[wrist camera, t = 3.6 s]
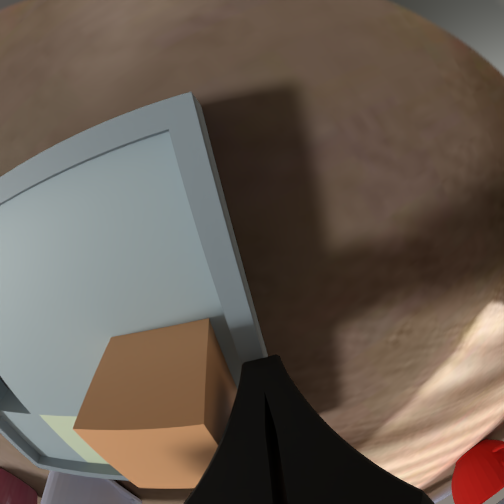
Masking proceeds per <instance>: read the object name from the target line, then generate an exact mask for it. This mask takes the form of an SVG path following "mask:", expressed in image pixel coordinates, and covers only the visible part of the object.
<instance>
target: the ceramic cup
mask: <svg viewBox="0 0 504 504" xmlns="http://www.w3.org/2000/svg"><path fill="white" fill-rule="evenodd" d="M503 487H504V442H503V441H499V440H488V439H485V440H483V441H481V442H480V443H478V444H477V445H476V446H474V447H473V448H472V449H470V450H469V451H468V452H467V453H465V454H464V455H463V456H462V457H461V458H460V459H459V460H458V461H457V462H456V467H455V469H454V473H453V477H452V495H453V499H454V503H455V504H482V503H483V502H485V501H486V500H488V499H489V498H490V497H492V496H493V495H494V494H496V493H497V492H498V491H500V490H501V489H502V488H503Z"/></svg>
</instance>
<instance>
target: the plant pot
mask: <svg viewBox="0 0 504 504" xmlns="http://www.w3.org/2000/svg"><path fill="white" fill-rule="evenodd" d="M0 504H37V493H36V491H35V490H34V489H32V488H31V487H30V486H29V485H27V484H26V483H24V482H23V481H21V480H20V479H18V478H17V477H15V476H14V475H12V474H10V473H9V472H7V471H5V470H4V469H2V468H0Z"/></svg>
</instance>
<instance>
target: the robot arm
mask: <svg viewBox="0 0 504 504" xmlns="http://www.w3.org/2000/svg"><path fill="white" fill-rule="evenodd" d="M40 504H142V500H140V499H139V498H137V497H136V496H134V495H133V494H131V493H130V492H129V491H127V490H126V489H125V488H123V487H122V486H120V485H119V484H118V483H116V482H115V481H114V480H112V479H102V478H94V477H86V476H79V475H73V474H67V473H62V472H56V471H51V470H50V472H49V476H48V479H47V482H46V485H45V489H44V492H43V496H42V499H41V503H40ZM184 504H434V502H433V501H432V500H431V499H430V498H429V497H428V496H427V495H426V494H425V493H424V492H423V491H422V490H420V489H419V488H416V487H414V486H412V485H410V484H408V483H406V482H405V481H403V480H401V479H399V478H397V477H395V476H394V475H392V474H390V473H389V472H387V471H386V470H384V469H382V468H381V467H379V466H378V465H376V464H375V463H373V462H372V461H371V460H369V459H368V458H366V457H365V456H364V455H362V454H361V453H360V452H358V451H357V450H356V449H354V448H353V447H352V446H351V445H350V444H348V443H347V442H346V441H345V440H344V439H343V438H341V437H340V436H339V435H338V434H337V433H336V432H335V431H334V430H333V429H332V428H331V427H330V426H329V425H328V424H327V423H326V422H325V421H324V420H323V419H322V418H321V417H320V416H319V415H318V414H317V412H316V411H315V410H314V409H313V408H312V407H311V405H310V404H309V403H308V402H307V401H306V399H305V398H304V397H303V395H302V394H301V393H300V391H299V390H298V389H297V387H296V386H295V384H294V383H293V381H292V380H291V378H290V377H289V375H288V373H287V371H286V370H285V368H284V366H283V363H282V361H281V358H280V356H278V355H273V356H269V357H265V358H260V359H256V360H252V361H247V362H244V363H243V364H242V368H241V375H240V381H239V385H238V389H237V394H236V397H235V401H234V404H233V407H232V411H231V414H230V417H229V420H228V422H227V425H226V428H225V430H224V433H223V436H222V438H221V440H220V443H219V445H218V447H217V449H216V451H215V453H214V455H213V457H212V459H211V461H210V463H209V465H208V467H207V469H206V470H205V472H204V474H203V476H202V477H201V479H200V481H199V482H198V484H197V485H196V487H195V488H194V490H193V491H192V493H191V494H190V496H189V497H188V498H187V500H186V501H185V502H184ZM497 504H504V498H503V499H502V500H501V501H499V502H498V503H497Z"/></svg>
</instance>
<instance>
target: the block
mask: <svg viewBox="0 0 504 504" xmlns="http://www.w3.org/2000/svg"><path fill="white" fill-rule="evenodd" d="M236 394H237V387H236V385H235V382H234V380H233V378H232V375H231V373H230V370H229V368H228V365H227V363H226V360H225V358H224V355H223V353H222V350H221V348H220V345H219V343H218V340H217V338H216V335H215V333H214V330H213V327H212V325H211V322H210V319H209V318H207V319H202V320H197V321H193V322H188V323H183V324H178V325H173V326H168V327H163V328H158V329H153V330H148V331H143V332H137V333H132V334H126V335H120V336H115V337H111V338H110V341H109V343H108V345H107V347H106V349H105V351H104V354H103V356H102V358H101V360H100V363H99V365H98V367H97V369H96V372H95V374H94V376H93V379H92V381H91V383H90V386H89V388H88V390H87V393H86V395H85V398H84V400H83V403H82V405H81V408H80V410H79V413H78V416H77V418H76V421H75V423H74V426H73V430H74V431H75V432H76V433H77V434H78V435H79V436H80V437H81V438H82V439H83V440H84V441H85V442H86V443H87V444H88V445H89V446H90V447H91V448H92V449H93V450H94V451H95V452H97V453H98V454H99V455H100V456H101V457H102V458H103V459H104V460H105V461H107V462H108V463H109V464H110V465H111V466H112V467H113V468H115V469H116V470H117V471H118V472H119V473H121V474H122V475H123V476H124V477H126V478H127V479H128V480H129V481H131V482H132V483H133V484H135V485H136V486H137V487H138V488H158V489H182V488H195V487H196V485H197V484H198V482H199V481H200V479H201V477H202V476H203V474H204V472H205V470H206V469H207V467H208V465H209V463H210V461H211V459H212V457H213V455H214V453H215V451H216V449H217V447H218V445H219V443H220V440H221V438H222V436H223V433H224V430H225V428H226V425H227V422H228V420H229V417H230V414H231V411H232V407H233V404H234V401H235V397H236Z"/></svg>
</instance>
